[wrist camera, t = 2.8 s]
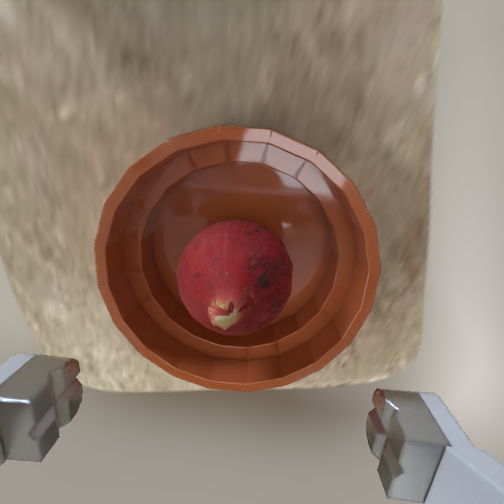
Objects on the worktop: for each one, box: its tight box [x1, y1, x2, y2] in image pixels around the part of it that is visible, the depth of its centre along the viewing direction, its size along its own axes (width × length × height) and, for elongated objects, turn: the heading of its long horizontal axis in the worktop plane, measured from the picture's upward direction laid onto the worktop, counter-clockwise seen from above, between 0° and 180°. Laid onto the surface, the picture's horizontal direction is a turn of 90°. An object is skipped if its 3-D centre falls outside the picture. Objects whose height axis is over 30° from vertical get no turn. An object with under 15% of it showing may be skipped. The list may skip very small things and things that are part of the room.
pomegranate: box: [177, 219, 293, 335], centre depth 15 cm, size 6×6×8 cm
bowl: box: [94, 125, 381, 392], centre depth 17 cm, size 14×14×4 cm
